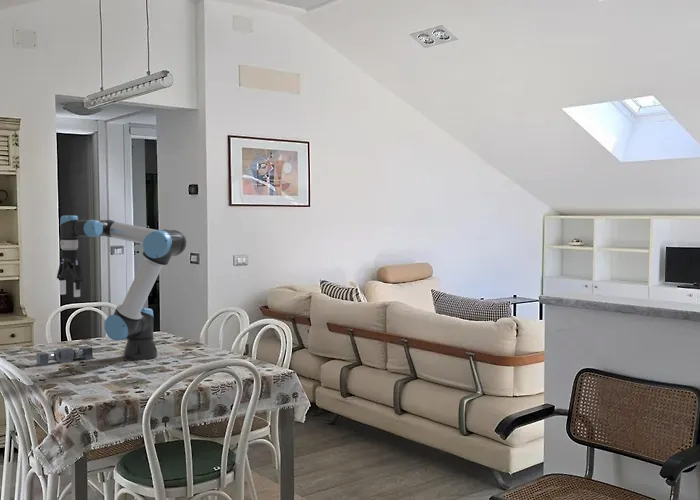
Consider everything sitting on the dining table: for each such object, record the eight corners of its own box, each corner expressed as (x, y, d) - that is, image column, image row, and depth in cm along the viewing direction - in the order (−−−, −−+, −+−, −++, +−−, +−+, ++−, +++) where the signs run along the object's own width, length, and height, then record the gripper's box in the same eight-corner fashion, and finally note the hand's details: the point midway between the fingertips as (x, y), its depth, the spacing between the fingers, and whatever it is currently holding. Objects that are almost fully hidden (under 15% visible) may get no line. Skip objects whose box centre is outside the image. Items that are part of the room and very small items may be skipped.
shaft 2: (85, 357, 333) (85, 346, 332) (92, 358, 330) (92, 347, 330) (70, 359, 326) (70, 348, 326) (77, 361, 323) (77, 350, 323)
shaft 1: (54, 362, 321) (54, 350, 321) (58, 363, 317) (58, 352, 317) (36, 364, 316) (36, 352, 316) (40, 366, 312) (39, 354, 312)
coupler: (60, 363, 318) (60, 349, 318) (56, 362, 321) (56, 348, 321) (72, 361, 322) (72, 348, 322) (68, 360, 325) (68, 347, 325)
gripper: (48, 248, 334) (49, 294, 335) (74, 250, 317) (75, 298, 318) (64, 248, 339) (64, 292, 340) (90, 250, 322) (91, 297, 323)
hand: (69, 295), depth 329 cm, fingers open, 13 cm apart
